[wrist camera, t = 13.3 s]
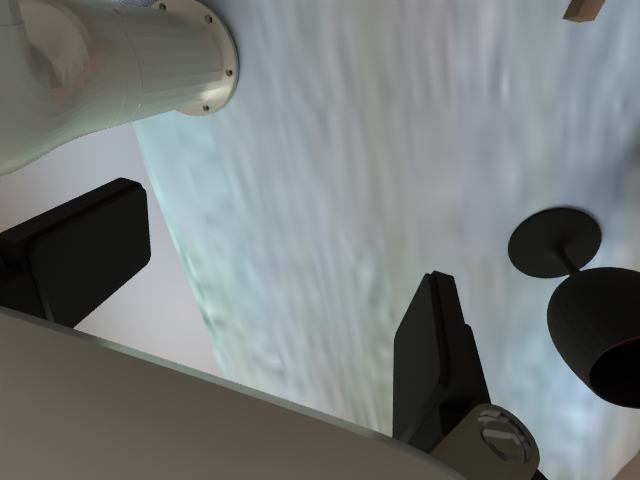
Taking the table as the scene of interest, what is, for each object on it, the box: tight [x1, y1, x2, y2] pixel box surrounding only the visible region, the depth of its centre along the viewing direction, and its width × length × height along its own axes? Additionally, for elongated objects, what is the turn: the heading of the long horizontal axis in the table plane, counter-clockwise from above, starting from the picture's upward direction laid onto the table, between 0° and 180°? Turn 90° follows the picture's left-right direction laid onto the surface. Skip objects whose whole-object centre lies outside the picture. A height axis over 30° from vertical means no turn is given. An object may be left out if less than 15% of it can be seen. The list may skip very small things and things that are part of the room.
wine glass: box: [508, 208, 640, 409], centre depth 34 cm, size 10×10×20 cm
